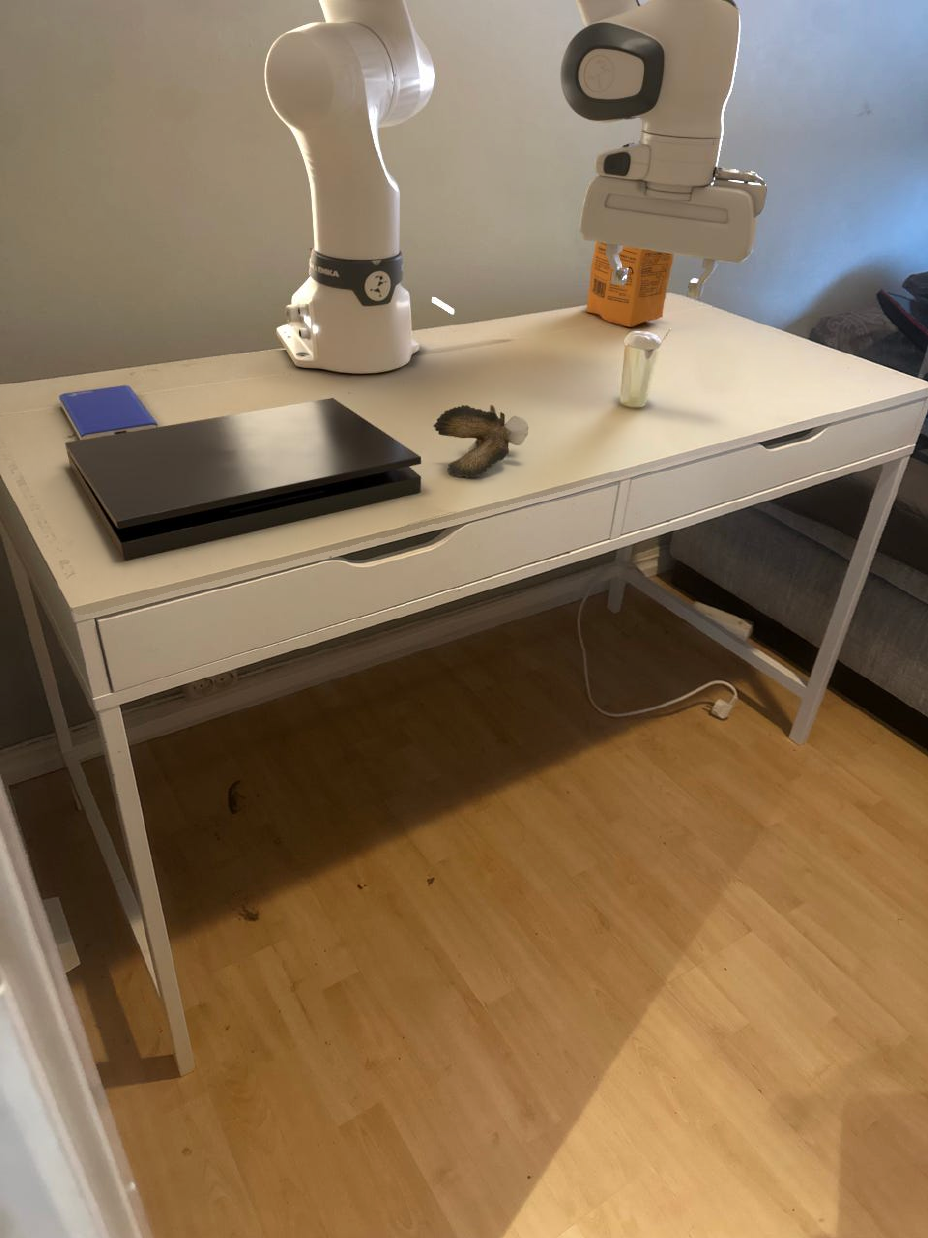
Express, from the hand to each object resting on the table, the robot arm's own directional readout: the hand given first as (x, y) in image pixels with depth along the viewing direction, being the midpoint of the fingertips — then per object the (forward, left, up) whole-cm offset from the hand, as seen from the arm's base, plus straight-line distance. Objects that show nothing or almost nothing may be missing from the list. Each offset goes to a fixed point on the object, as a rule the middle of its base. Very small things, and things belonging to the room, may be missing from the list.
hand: (655, 290), depth 107 cm
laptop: (-1, -53, -14) cm, 54 cm away
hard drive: (-22, -61, -15) cm, 66 cm away
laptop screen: (-1, -52, -12) cm, 54 cm away
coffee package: (-31, +24, -15) cm, 42 cm away
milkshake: (0, 0, -15) cm, 15 cm away
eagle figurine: (+6, -28, -15) cm, 32 cm away
